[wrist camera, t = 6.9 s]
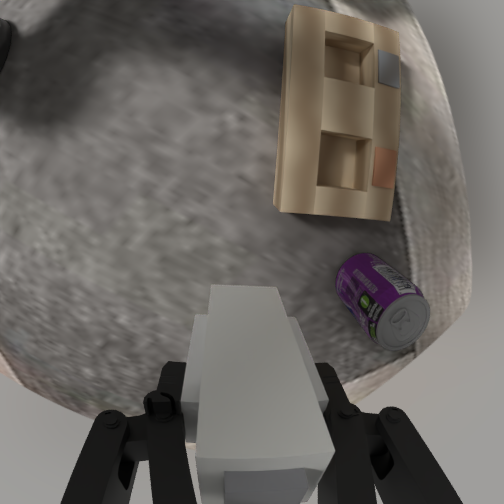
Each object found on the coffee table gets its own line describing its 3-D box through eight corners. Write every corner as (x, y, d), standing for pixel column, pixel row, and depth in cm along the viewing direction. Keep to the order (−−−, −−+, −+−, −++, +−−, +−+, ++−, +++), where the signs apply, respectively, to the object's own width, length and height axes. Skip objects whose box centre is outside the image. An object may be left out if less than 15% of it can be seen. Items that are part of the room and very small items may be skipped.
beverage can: (322, 279, 36) (359, 330, 25) (363, 239, 35) (416, 275, 24) (353, 311, 38) (393, 365, 27) (391, 275, 37) (442, 318, 25)
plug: (210, 338, 19) (201, 522, 7) (211, 284, 18) (194, 479, 6) (270, 340, 20) (310, 517, 7) (276, 286, 18) (342, 471, 6)
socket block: (273, 204, 33) (281, 212, 28) (285, 22, 26) (294, 3, 21) (370, 212, 34) (391, 221, 29) (379, 44, 27) (399, 31, 22)
